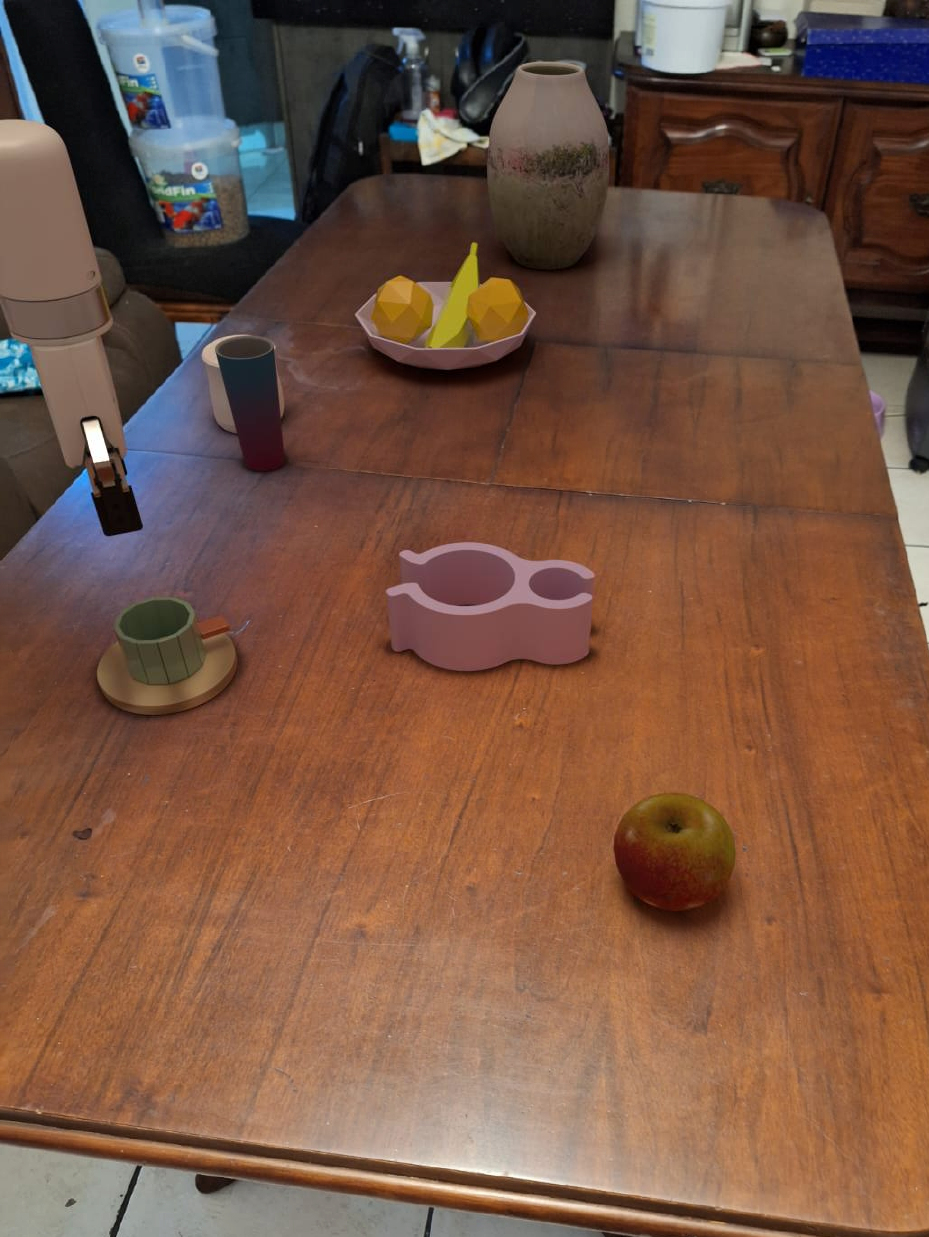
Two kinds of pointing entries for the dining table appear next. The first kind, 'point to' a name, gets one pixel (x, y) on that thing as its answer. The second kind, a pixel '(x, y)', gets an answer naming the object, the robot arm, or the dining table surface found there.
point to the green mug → (164, 639)
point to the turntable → (169, 696)
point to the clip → (489, 607)
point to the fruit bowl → (447, 319)
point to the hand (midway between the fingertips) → (116, 503)
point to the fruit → (674, 851)
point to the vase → (548, 165)
